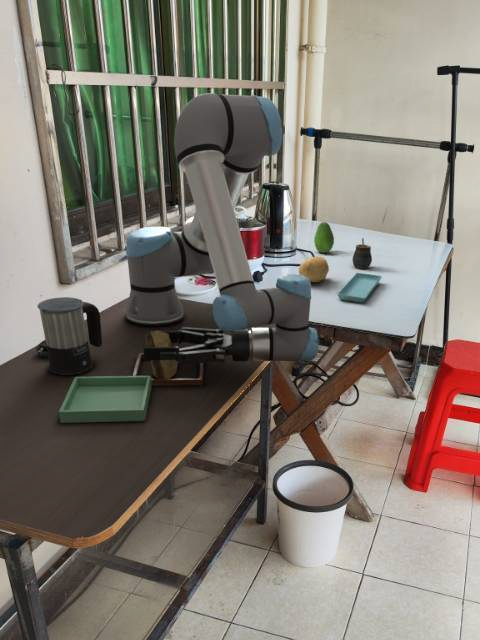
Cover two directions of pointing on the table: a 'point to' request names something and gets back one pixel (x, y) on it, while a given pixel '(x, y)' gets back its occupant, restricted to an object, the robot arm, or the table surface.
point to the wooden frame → (170, 381)
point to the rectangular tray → (359, 287)
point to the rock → (161, 367)
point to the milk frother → (68, 334)
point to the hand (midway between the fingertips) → (146, 345)
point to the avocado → (324, 238)
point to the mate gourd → (362, 256)
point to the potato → (314, 269)
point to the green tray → (106, 399)
